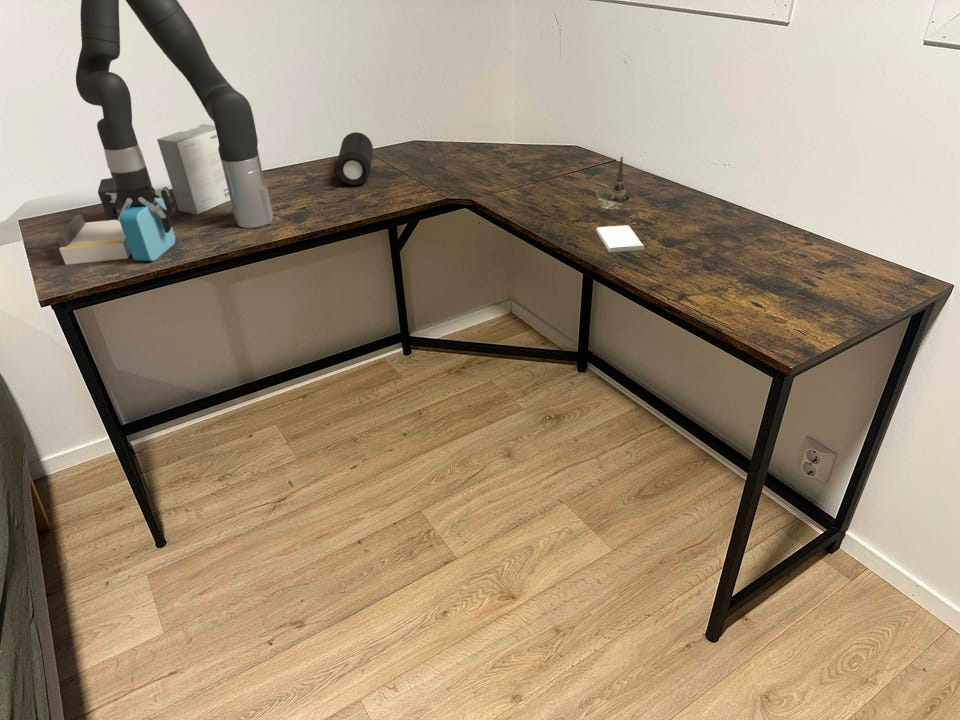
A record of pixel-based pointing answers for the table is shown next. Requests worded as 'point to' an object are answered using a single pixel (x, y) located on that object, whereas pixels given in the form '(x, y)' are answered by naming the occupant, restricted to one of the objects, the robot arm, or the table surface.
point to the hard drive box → (195, 168)
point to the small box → (109, 186)
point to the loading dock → (92, 241)
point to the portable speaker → (355, 159)
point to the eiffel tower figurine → (615, 194)
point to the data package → (146, 232)
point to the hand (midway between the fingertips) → (149, 233)
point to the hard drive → (619, 238)
